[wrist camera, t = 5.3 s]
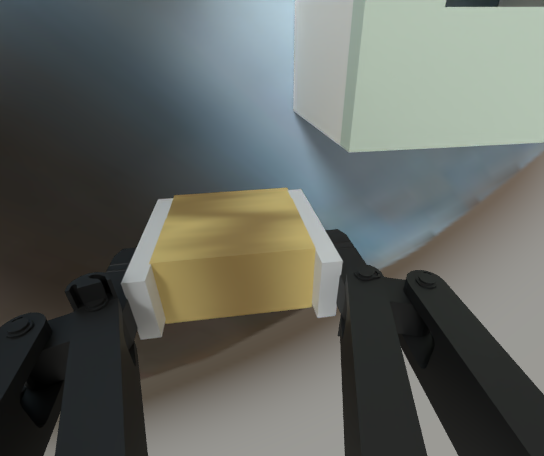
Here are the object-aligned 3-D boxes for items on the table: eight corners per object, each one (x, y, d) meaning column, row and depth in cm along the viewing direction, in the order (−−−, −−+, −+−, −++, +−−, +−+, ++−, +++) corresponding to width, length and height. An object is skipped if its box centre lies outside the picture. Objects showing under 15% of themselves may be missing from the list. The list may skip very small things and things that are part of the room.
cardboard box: (183, 243, 17) (165, 323, 12) (174, 195, 16) (148, 263, 10) (286, 234, 18) (311, 307, 13) (287, 187, 16) (315, 248, 11)
